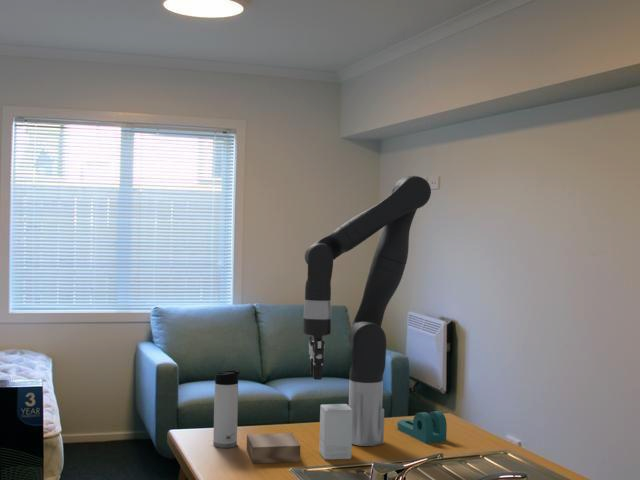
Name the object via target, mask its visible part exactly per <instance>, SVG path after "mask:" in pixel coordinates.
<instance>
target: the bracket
mask: <svg viewBox="0 0 640 480" xmlns="http://www.w3.org/2000/svg"><path fill="white" fill-rule="evenodd" d="M446 418H447V417H446V416H445V414H444V413H443V412H442V411H441V410H437V411H435V410H434V411H430V412H426V411H424V412H417V413H415V414H414V417H413V419H401V420H398V421H397V426H396V427H397V431H400V432H401V433H403V434H406V435H407V436H409V437H411V438H414V439H415V440H417V441H419V442H422V443H424V444H425V445H426V444H433V443H434V444H436V443H443V442H444V443H445V442H447V432H448V431H447V427H448V425H447V419H446Z"/></svg>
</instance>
